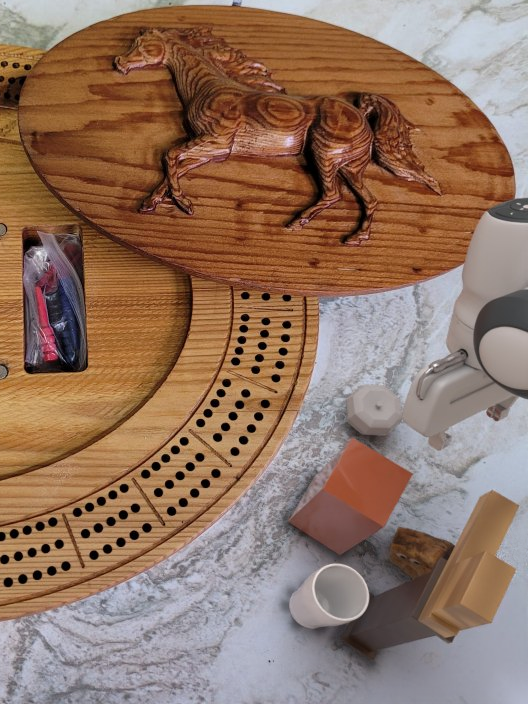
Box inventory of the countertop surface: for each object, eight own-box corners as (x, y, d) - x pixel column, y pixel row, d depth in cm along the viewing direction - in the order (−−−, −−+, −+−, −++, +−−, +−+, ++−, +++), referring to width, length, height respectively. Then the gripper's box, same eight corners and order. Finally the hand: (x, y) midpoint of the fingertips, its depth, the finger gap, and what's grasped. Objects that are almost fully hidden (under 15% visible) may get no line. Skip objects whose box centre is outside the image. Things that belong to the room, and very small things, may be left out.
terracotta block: (366, 508, 116) (413, 473, 100) (339, 555, 114) (384, 527, 98) (314, 476, 119) (352, 437, 103) (287, 521, 116) (322, 488, 100)
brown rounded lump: (368, 560, 113) (395, 545, 104) (387, 524, 115) (415, 505, 106) (452, 613, 110) (489, 602, 100) (470, 574, 112) (508, 560, 102)
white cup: (323, 644, 109) (359, 632, 96) (275, 618, 111) (303, 603, 97) (341, 597, 111) (378, 579, 98) (293, 573, 113) (323, 552, 100)
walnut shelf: (395, 612, 110) (481, 581, 87) (369, 661, 108) (452, 643, 84) (363, 591, 112) (440, 556, 88) (338, 639, 109) (410, 615, 86)
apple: (375, 387, 124) (390, 370, 118) (403, 434, 121) (419, 419, 115) (327, 404, 124) (340, 388, 118) (353, 452, 120) (368, 438, 114)
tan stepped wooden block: (506, 511, 90) (554, 488, 81) (445, 638, 85) (489, 628, 76) (479, 496, 91) (524, 471, 82) (417, 620, 86) (457, 608, 77)
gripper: (447, 385, 84) (423, 481, 92) (584, 320, 90) (551, 415, 98) (398, 354, 89) (380, 447, 97) (531, 294, 95) (504, 387, 103)
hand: (467, 431), depth 97 cm, fingers open, 8 cm apart
